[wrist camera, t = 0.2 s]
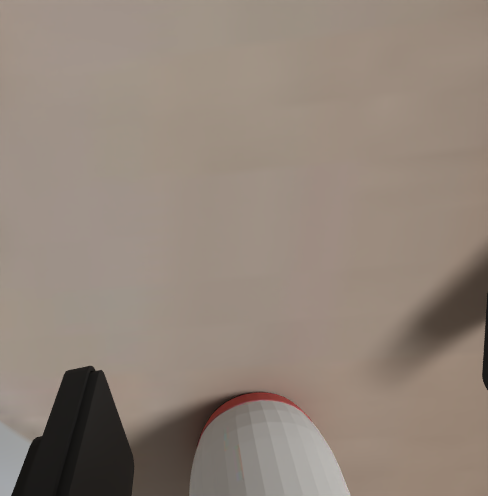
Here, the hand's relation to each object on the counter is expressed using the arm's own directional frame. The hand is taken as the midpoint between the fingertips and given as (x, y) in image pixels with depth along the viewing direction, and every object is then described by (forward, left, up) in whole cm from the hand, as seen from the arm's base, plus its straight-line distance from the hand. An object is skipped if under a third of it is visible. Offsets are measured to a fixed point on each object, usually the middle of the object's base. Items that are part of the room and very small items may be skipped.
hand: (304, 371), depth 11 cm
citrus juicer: (+33, -1, -31) cm, 46 cm away
